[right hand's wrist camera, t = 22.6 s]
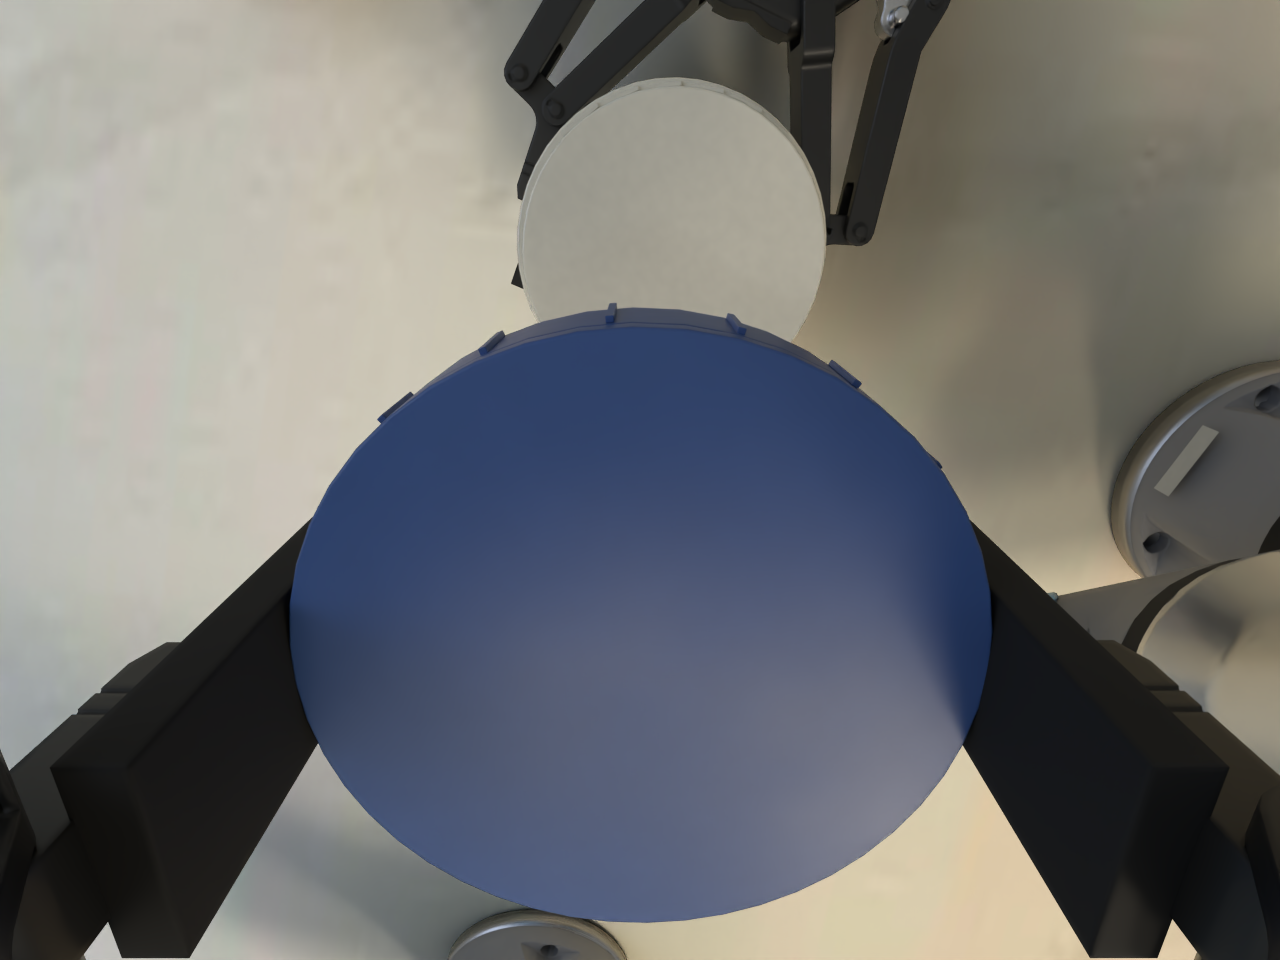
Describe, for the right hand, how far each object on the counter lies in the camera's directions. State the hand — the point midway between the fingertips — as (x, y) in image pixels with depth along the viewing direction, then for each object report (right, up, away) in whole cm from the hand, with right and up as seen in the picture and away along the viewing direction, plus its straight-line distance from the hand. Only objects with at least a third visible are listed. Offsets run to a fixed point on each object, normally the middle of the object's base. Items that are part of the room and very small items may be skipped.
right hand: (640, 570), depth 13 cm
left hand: (-1, +9, +20) cm, 22 cm away
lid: (0, -1, -3) cm, 3 cm away
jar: (+1, +15, +24) cm, 28 cm away
